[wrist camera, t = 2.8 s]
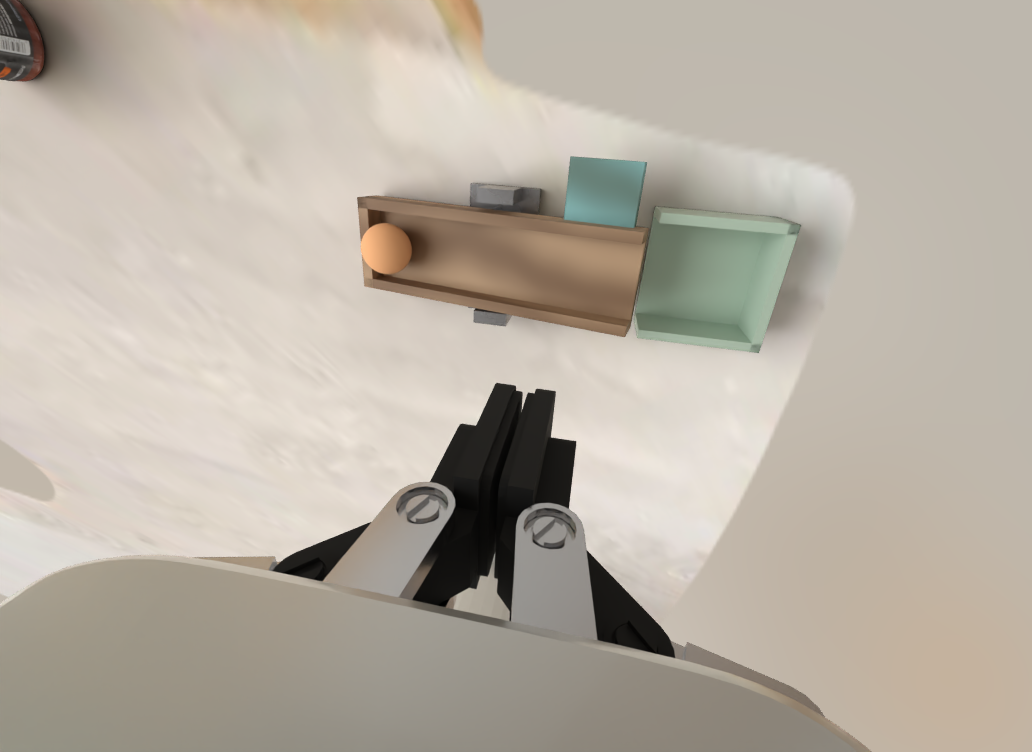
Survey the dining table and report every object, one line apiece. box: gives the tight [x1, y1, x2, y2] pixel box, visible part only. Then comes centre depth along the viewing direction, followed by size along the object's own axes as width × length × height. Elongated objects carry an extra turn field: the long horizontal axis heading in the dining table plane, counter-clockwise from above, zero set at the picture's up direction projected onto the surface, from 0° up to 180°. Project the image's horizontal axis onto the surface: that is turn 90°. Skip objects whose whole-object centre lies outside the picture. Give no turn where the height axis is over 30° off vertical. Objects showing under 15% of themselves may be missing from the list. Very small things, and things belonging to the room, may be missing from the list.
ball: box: [361, 223, 412, 274], centre depth 32 cm, size 4×4×4 cm
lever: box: [357, 156, 649, 337], centre depth 31 cm, size 10×20×2 cm, turn 86°
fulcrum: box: [468, 183, 541, 326], centre depth 33 cm, size 9×5×4 cm, turn 176°
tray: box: [634, 206, 801, 353], centre depth 31 cm, size 8×8×4 cm
